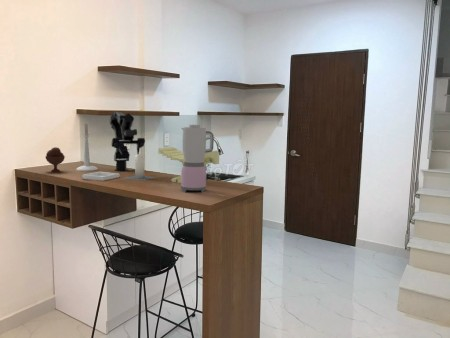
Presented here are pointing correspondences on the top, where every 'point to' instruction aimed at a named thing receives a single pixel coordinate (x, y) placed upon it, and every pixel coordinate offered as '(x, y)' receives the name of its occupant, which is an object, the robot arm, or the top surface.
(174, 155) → the slatted curved stool
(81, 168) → the candlestick
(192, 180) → the blender
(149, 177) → the rubber mat
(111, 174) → the grey tray
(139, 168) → the rolled placemat
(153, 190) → the top surface
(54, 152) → the ice cream bowl
